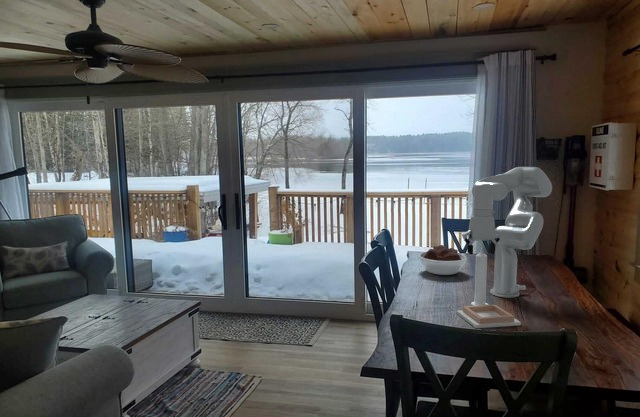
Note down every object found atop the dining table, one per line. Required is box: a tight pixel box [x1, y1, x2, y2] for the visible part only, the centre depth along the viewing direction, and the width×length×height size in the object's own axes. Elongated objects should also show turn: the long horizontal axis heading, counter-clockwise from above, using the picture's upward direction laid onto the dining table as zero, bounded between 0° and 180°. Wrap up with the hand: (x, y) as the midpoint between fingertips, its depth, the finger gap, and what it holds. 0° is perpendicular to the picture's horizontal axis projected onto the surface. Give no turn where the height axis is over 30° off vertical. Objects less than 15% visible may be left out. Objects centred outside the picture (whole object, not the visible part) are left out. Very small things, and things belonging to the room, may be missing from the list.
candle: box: [470, 247, 490, 306], centre depth 191 cm, size 7×7×25 cm
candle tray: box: [456, 304, 522, 329], centre depth 177 cm, size 18×16×3 cm
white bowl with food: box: [418, 244, 468, 276], centre depth 245 cm, size 25×25×15 cm
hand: (481, 253), depth 190 cm, fingers open, 9 cm apart
